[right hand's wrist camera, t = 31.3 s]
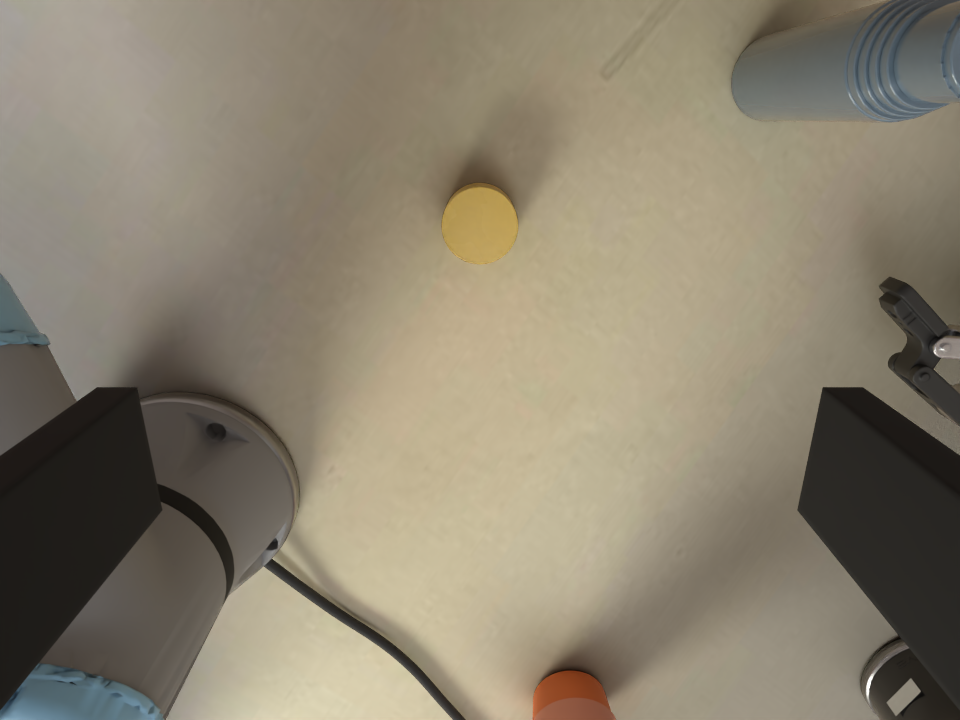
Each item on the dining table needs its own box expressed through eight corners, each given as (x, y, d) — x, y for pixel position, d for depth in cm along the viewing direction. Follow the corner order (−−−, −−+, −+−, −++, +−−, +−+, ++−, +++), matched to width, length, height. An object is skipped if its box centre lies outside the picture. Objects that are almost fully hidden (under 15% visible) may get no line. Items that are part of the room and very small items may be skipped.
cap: (515, 255, 42) (517, 263, 39) (445, 256, 42) (442, 264, 39) (516, 182, 40) (518, 186, 38) (442, 183, 40) (440, 187, 38)
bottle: (756, 137, 39) (965, 152, 22) (715, 71, 38) (905, 33, 21) (826, 85, 38) (1101, 59, 21) (787, 14, 37) (1047, -73, 20)
